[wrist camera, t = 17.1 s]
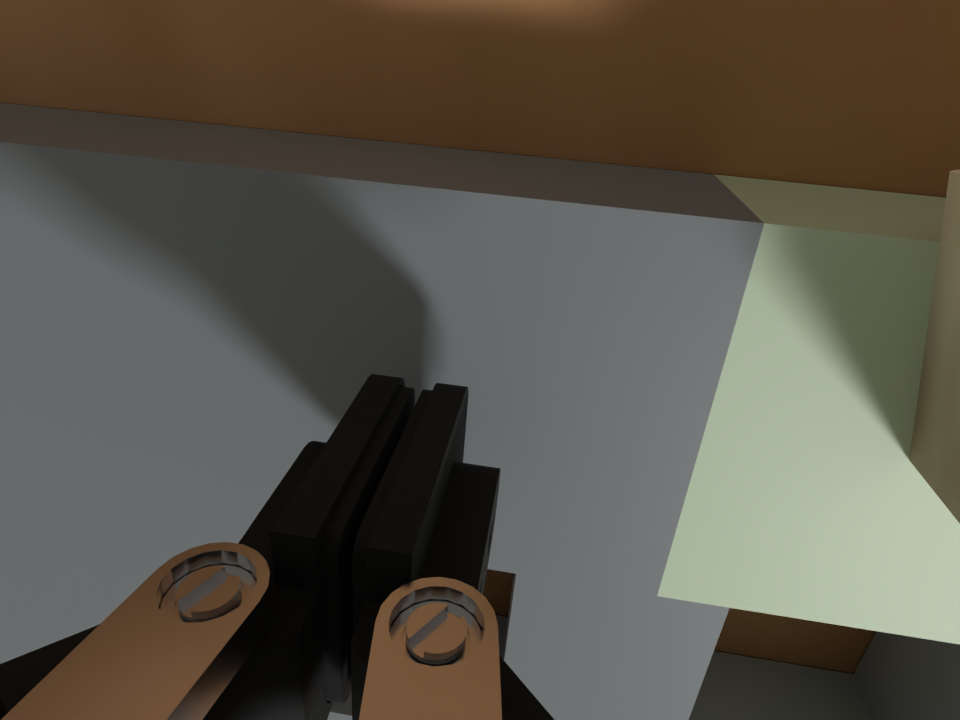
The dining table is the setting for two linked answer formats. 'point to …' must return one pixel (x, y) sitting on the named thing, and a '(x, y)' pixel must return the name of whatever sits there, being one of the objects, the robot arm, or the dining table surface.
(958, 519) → the maple block
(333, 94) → the dining table surface
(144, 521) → the board
